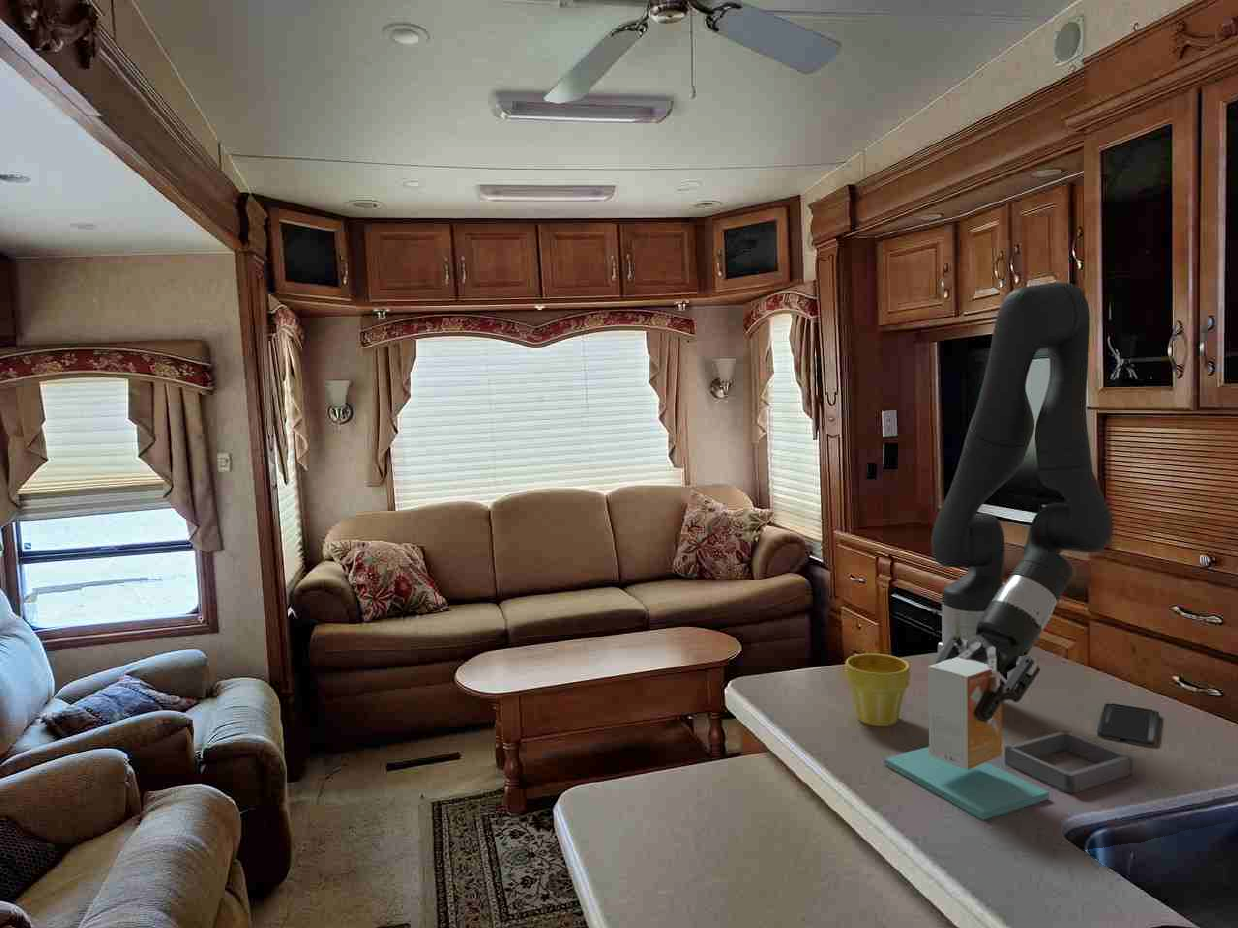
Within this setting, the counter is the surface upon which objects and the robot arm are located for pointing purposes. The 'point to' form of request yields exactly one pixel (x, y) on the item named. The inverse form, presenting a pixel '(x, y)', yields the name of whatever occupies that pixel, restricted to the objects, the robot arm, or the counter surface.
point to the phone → (1129, 724)
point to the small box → (961, 714)
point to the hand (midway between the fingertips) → (957, 709)
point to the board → (968, 784)
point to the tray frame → (1070, 782)
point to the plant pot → (877, 687)
